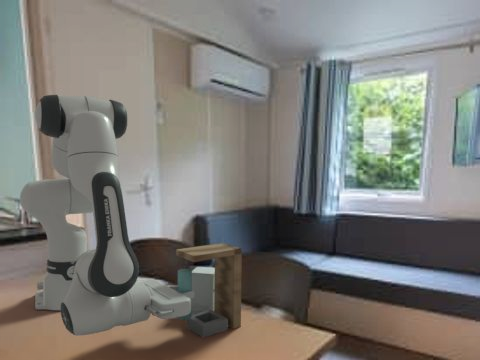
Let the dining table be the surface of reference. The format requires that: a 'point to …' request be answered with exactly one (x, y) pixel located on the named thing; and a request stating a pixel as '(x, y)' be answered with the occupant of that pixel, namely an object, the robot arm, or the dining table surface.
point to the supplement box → (203, 289)
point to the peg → (185, 286)
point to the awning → (222, 277)
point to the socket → (207, 323)
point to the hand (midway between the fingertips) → (187, 291)
